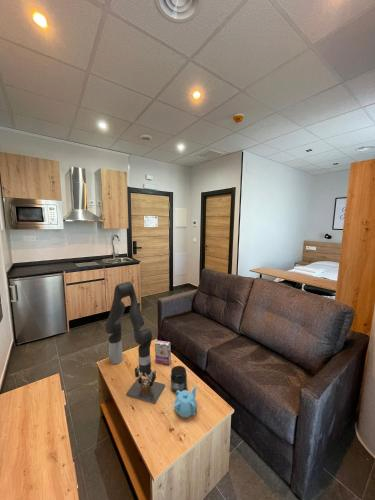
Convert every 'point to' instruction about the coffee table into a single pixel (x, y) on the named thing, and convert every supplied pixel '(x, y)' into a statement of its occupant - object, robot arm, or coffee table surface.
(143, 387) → the collar
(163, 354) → the candy bar box
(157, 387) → the grey metal plate
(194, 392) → the teapot
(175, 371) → the supplement container
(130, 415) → the coffee table surface
